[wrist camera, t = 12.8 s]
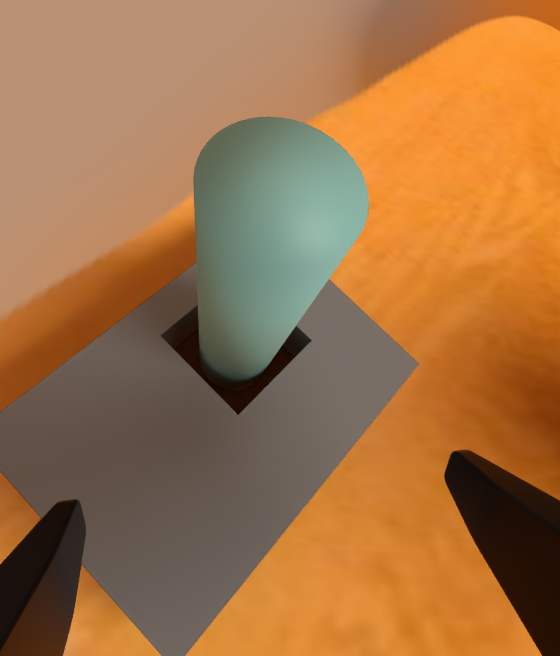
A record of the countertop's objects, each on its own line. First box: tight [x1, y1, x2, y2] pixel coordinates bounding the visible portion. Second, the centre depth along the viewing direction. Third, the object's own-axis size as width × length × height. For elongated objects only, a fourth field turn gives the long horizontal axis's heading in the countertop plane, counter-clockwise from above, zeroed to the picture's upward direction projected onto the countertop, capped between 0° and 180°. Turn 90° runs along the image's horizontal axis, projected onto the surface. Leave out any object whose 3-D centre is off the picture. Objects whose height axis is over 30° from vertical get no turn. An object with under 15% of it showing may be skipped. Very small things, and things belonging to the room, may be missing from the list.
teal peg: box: [193, 117, 369, 390], centre depth 13 cm, size 3×3×12 cm
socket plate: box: [0, 263, 419, 656], centre depth 16 cm, size 14×10×3 cm
